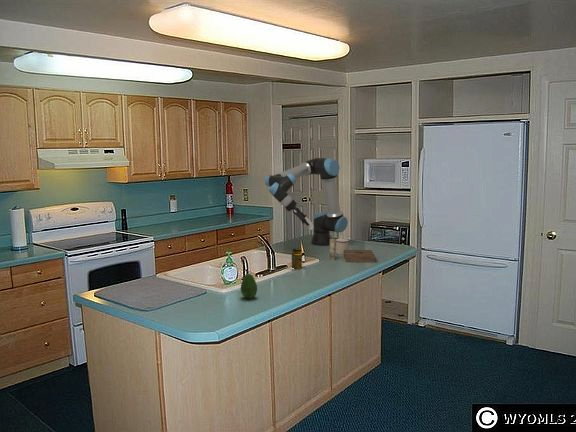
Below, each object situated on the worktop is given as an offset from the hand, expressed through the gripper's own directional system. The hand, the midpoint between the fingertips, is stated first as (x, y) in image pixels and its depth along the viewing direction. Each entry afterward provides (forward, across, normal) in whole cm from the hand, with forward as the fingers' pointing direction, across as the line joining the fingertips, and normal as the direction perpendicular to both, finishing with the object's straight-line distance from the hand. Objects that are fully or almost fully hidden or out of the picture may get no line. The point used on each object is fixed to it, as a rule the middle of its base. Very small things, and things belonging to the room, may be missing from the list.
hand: (312, 227), depth 328 cm
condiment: (+8, +24, -22) cm, 34 cm away
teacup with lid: (+29, -20, 0) cm, 35 cm away
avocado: (-8, +82, -39) cm, 92 cm away
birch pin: (+24, -1, -5) cm, 25 cm away
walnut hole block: (+36, -1, +7) cm, 37 cm away
